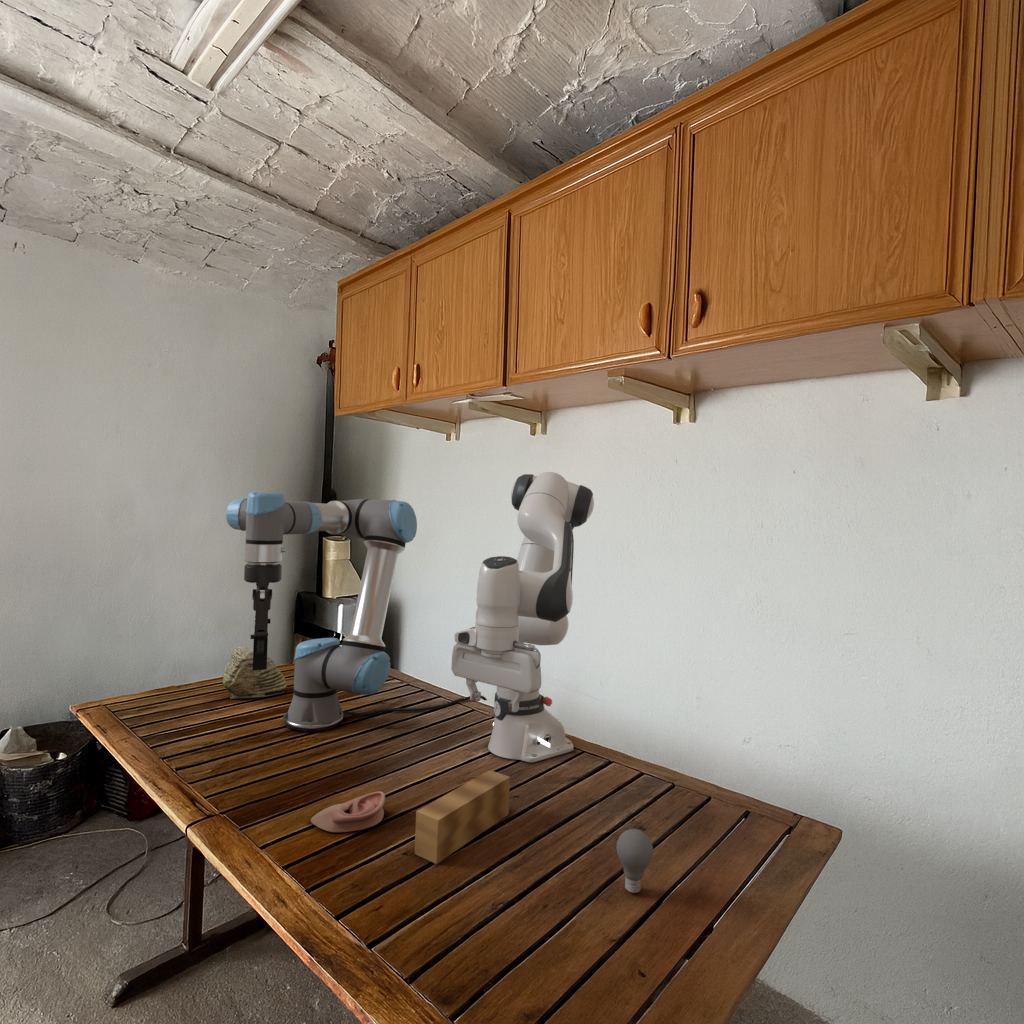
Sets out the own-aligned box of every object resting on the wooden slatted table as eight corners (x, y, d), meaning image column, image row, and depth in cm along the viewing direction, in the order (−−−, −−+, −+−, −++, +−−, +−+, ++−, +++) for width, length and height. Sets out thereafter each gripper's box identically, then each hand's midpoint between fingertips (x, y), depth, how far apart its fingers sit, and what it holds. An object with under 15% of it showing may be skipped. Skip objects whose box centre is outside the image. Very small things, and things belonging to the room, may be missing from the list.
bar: (436, 864, 111) (438, 820, 111) (414, 854, 114) (416, 811, 114) (508, 814, 130) (510, 776, 130) (488, 806, 133) (489, 769, 132)
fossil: (218, 695, 195) (220, 647, 195) (278, 685, 208) (279, 640, 207) (228, 703, 189) (230, 653, 188) (289, 692, 201) (290, 645, 201)
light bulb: (610, 879, 108) (613, 822, 108) (644, 879, 109) (647, 822, 109) (619, 902, 102) (622, 840, 102) (655, 901, 103) (658, 840, 103)
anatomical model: (303, 807, 121) (332, 781, 132) (302, 827, 121) (331, 800, 132) (368, 817, 118) (392, 790, 129) (367, 838, 118) (391, 809, 129)
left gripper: (283, 570, 126) (279, 675, 127) (280, 557, 150) (277, 646, 150) (242, 570, 124) (238, 678, 124) (246, 557, 147) (242, 648, 147)
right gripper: (549, 643, 125) (546, 713, 125) (467, 628, 136) (464, 691, 136) (532, 649, 119) (528, 721, 120) (448, 632, 131) (445, 698, 131)
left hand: (259, 661), depth 137 cm, fingers open, 13 cm apart
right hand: (493, 705), depth 128 cm, fingers open, 8 cm apart
